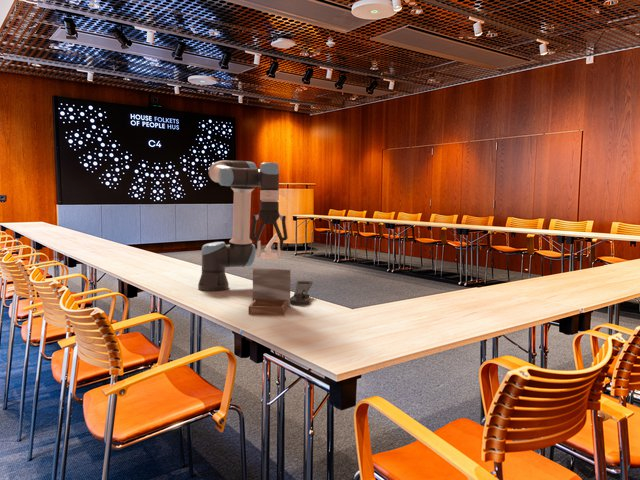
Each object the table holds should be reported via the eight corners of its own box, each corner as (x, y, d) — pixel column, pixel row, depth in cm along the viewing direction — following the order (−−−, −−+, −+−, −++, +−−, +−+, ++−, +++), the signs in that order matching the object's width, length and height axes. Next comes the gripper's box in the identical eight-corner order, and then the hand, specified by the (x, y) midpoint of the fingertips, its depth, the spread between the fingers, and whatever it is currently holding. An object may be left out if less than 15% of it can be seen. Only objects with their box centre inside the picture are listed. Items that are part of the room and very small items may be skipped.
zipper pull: (314, 281, 233) (308, 290, 208) (313, 294, 234) (308, 305, 209) (295, 280, 234) (288, 290, 209) (295, 293, 234) (288, 305, 210)
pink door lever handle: (289, 246, 192) (275, 236, 190) (272, 269, 194) (257, 259, 192) (288, 240, 199) (275, 231, 197) (272, 262, 201) (258, 253, 199)
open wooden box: (253, 304, 208) (253, 268, 207) (290, 305, 208) (290, 269, 206) (245, 314, 192) (246, 274, 190) (285, 315, 191) (286, 275, 190)
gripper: (242, 200, 191) (242, 257, 193) (293, 201, 190) (292, 258, 192) (246, 200, 198) (246, 255, 200) (295, 201, 198) (294, 256, 200)
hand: (269, 256), depth 196 cm, fingers closed on pink door lever handle, 8 cm apart
